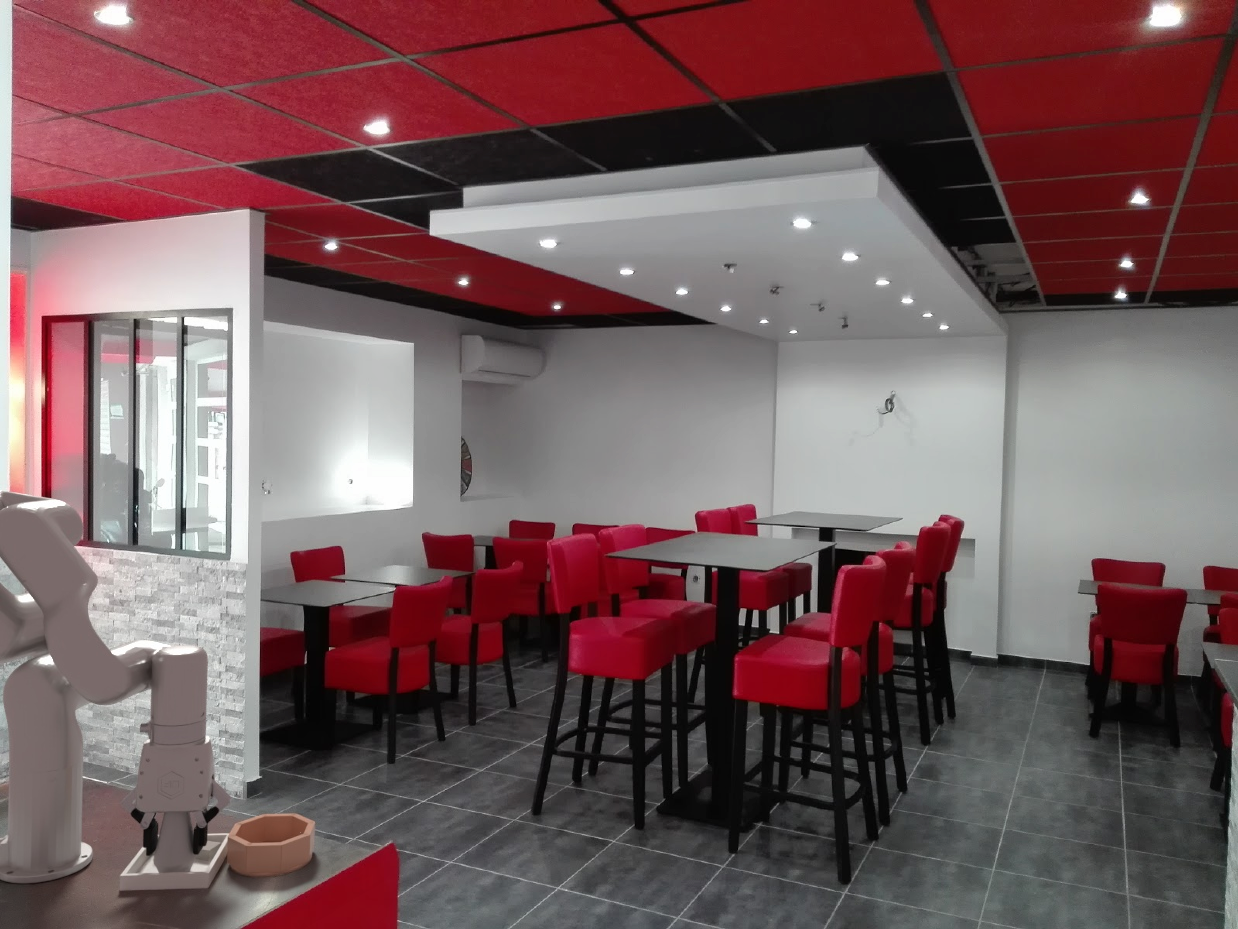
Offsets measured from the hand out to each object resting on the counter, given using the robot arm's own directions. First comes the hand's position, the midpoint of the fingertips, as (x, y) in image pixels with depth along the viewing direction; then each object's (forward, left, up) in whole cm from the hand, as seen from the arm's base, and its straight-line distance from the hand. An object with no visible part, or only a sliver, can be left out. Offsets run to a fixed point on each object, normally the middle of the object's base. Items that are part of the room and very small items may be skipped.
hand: (175, 850), depth 144 cm
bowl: (+13, +4, -4) cm, 14 cm away
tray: (0, +2, -4) cm, 4 cm away
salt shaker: (0, 0, -4) cm, 4 cm away
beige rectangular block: (+2, +6, -3) cm, 7 cm away
